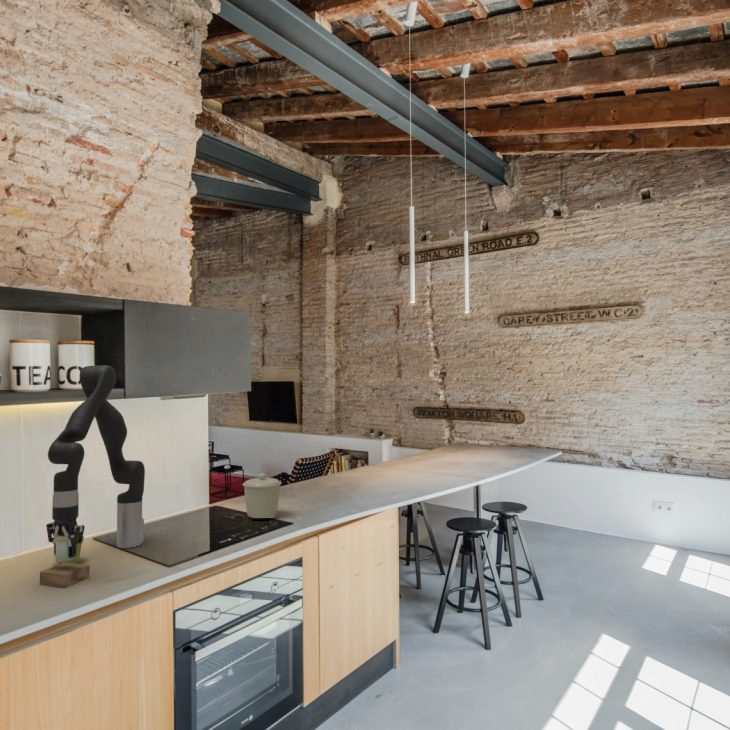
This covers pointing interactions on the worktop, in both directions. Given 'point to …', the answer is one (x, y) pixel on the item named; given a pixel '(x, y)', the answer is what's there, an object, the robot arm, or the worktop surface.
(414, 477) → the worktop surface
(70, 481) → the robot arm
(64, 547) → the jar
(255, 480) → the canister
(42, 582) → the plinth
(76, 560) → the plant pot
